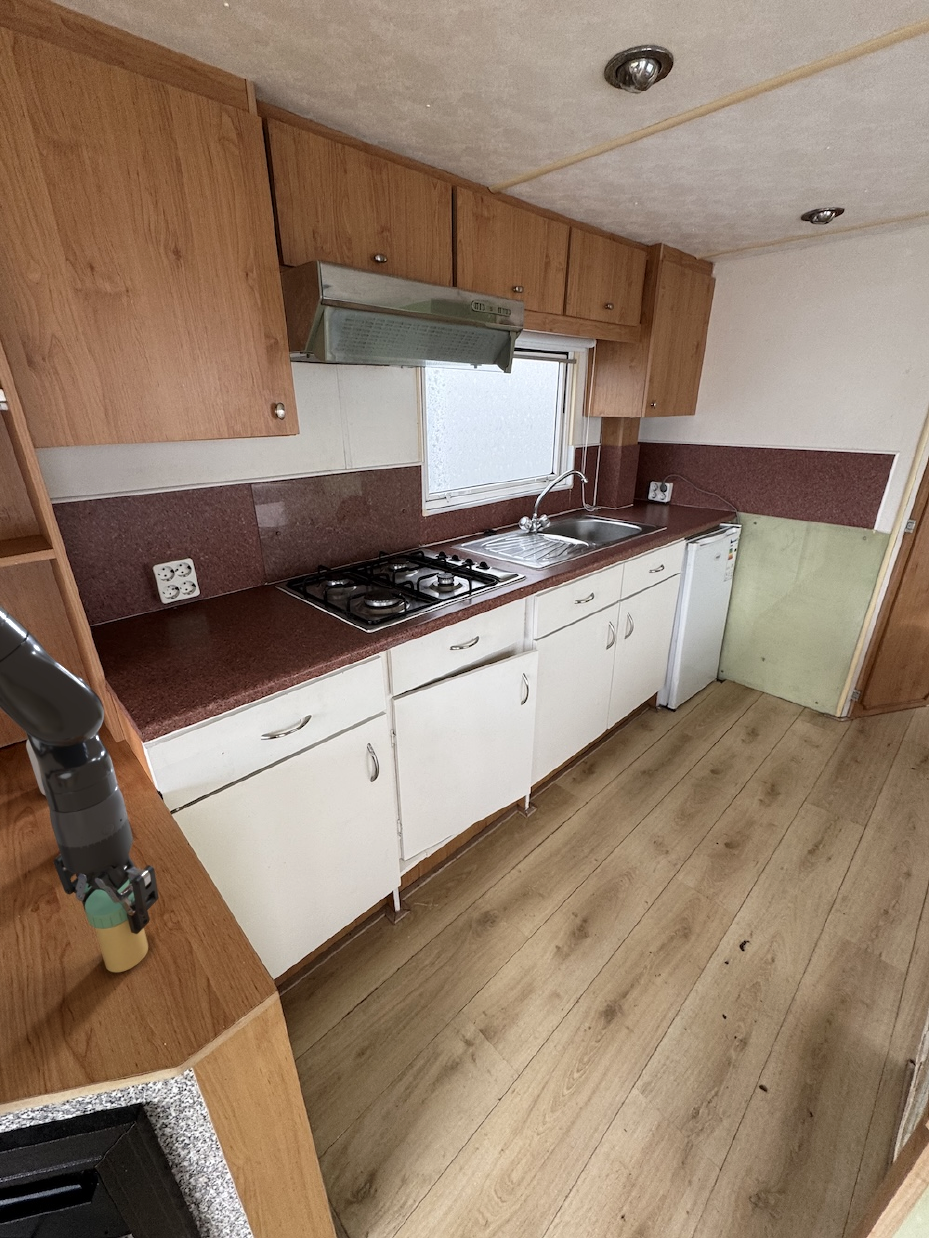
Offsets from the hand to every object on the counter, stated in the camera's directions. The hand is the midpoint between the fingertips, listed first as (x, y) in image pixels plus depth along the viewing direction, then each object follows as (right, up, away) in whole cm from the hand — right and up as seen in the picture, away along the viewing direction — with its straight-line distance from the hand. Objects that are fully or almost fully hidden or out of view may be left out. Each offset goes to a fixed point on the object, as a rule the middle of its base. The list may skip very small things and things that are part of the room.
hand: (118, 921), depth 73 cm
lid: (0, +4, -1) cm, 4 cm away
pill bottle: (-34, +7, +36) cm, 50 cm away
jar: (0, -6, +2) cm, 6 cm away
